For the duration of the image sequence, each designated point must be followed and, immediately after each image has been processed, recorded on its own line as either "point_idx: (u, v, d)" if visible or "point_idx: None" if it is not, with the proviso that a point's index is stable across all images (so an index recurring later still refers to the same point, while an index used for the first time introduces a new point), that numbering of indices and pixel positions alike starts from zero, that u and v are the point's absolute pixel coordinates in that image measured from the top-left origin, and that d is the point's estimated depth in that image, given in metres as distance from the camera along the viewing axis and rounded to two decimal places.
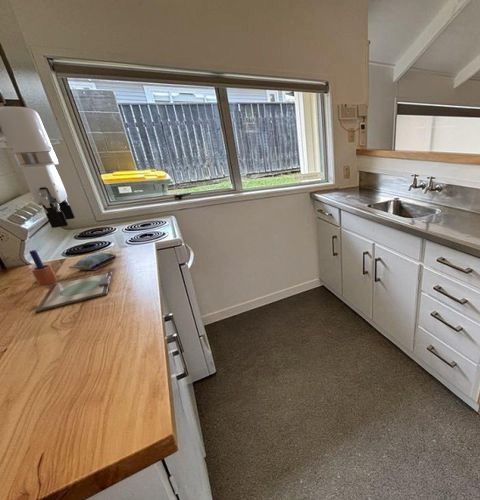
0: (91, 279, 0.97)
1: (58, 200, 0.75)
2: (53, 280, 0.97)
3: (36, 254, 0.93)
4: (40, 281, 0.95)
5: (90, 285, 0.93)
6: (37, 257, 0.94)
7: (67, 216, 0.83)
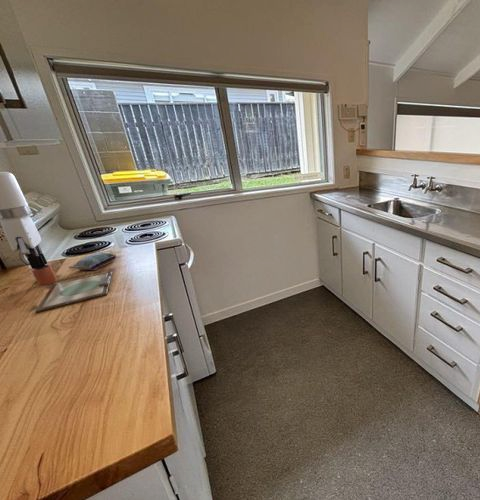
0: (91, 279, 0.97)
1: (31, 246, 0.89)
2: (53, 280, 0.97)
3: None
4: (40, 281, 0.95)
5: (90, 285, 0.93)
6: None
7: None
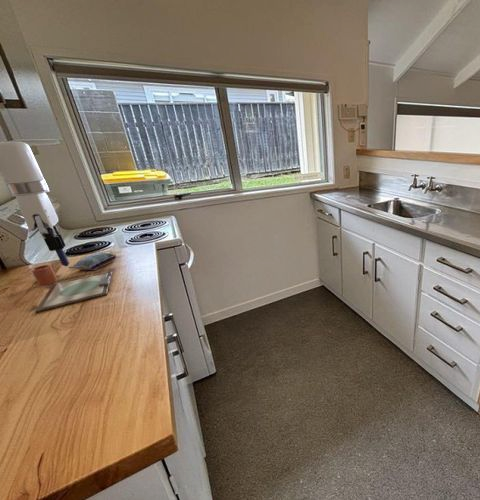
0: (91, 279, 0.97)
1: (50, 225, 0.81)
2: (53, 280, 0.97)
3: None
4: (40, 281, 0.95)
5: (90, 285, 0.93)
6: None
7: None
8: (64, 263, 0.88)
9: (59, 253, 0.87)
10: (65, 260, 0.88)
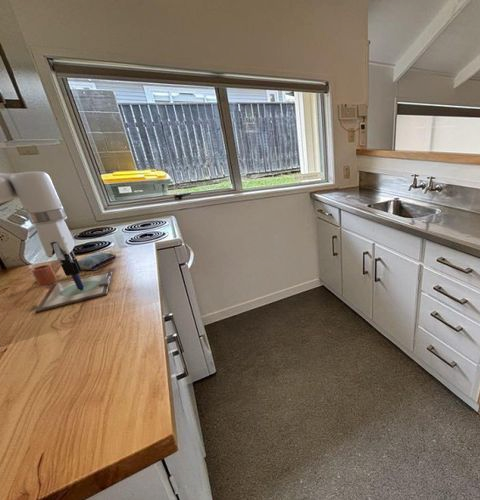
0: (91, 279, 0.97)
1: (67, 252, 0.82)
2: (53, 280, 0.97)
3: None
4: (40, 281, 0.95)
5: (90, 285, 0.93)
6: None
7: None
8: (79, 287, 0.89)
9: (75, 277, 0.88)
10: (80, 284, 0.89)
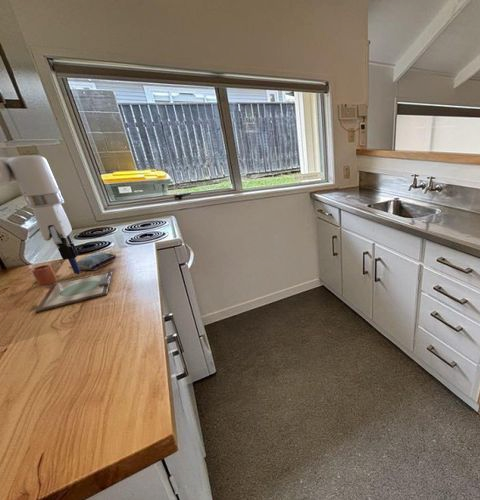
0: (91, 279, 0.97)
1: (64, 235, 0.84)
2: (53, 280, 0.97)
3: None
4: (40, 281, 0.95)
5: (90, 285, 0.93)
6: None
7: None
8: (76, 271, 0.91)
9: (72, 262, 0.90)
10: (77, 268, 0.91)
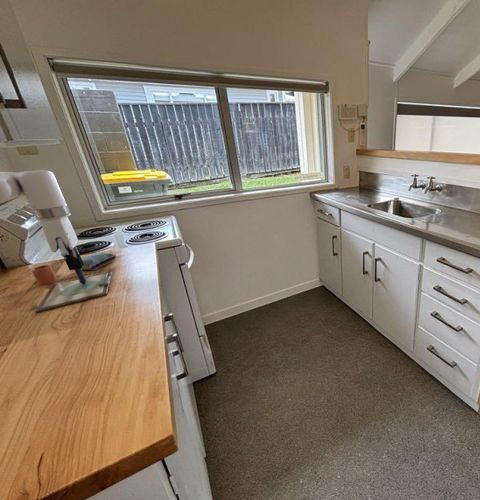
0: (91, 279, 0.97)
1: (70, 247, 0.86)
2: (53, 280, 0.97)
3: None
4: (40, 281, 0.95)
5: (90, 285, 0.93)
6: None
7: None
8: (82, 281, 0.93)
9: (78, 272, 0.92)
10: (83, 278, 0.93)
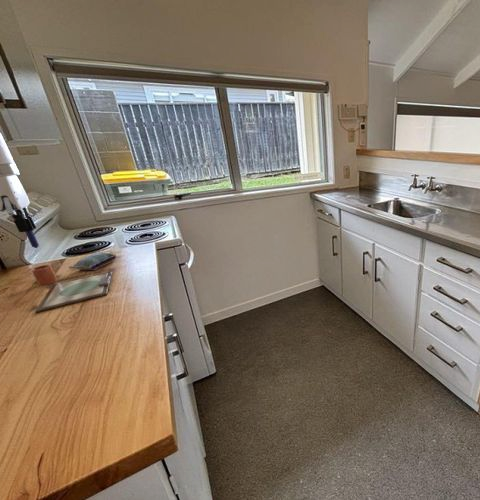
0: (91, 279, 0.97)
1: (18, 207, 0.84)
2: (53, 280, 0.97)
3: None
4: (40, 281, 0.95)
5: (90, 285, 0.93)
6: None
7: None
8: (34, 245, 0.91)
9: (29, 235, 0.90)
10: (35, 242, 0.91)
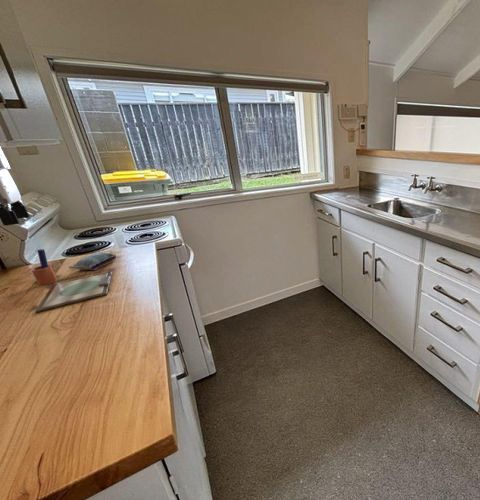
0: (91, 279, 0.97)
1: (9, 201, 0.84)
2: (53, 280, 0.97)
3: (43, 253, 0.94)
4: (40, 281, 0.95)
5: (90, 285, 0.93)
6: (44, 256, 0.94)
7: (22, 215, 0.92)
8: None
9: None
10: None
